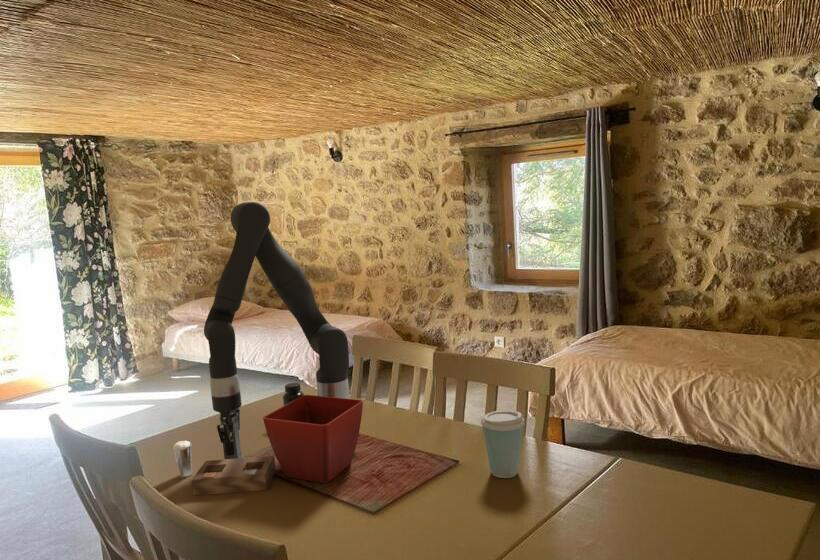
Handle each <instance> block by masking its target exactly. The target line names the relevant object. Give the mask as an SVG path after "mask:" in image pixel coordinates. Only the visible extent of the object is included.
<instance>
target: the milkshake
mask: <svg viewBox="0 0 820 560" xmlns="http://www.w3.org/2000/svg"><path fill="white" fill-rule="evenodd" d="M192 441H193V438H191V440H190V441H188V440H180V441H177V442H176V443H175V444H174V445H173V447H172V448H173V449H172V450H173V453H174V457H175V461H176V466H177V467H176V468H177V472H178V476H179V477H180V478H187V477H189V476H192V474H193V456H192V443H193V442H192Z"/></svg>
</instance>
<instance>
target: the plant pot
mask: <svg viewBox="0 0 820 560" xmlns="http://www.w3.org/2000/svg"><path fill="white" fill-rule="evenodd" d="M363 405H364V401H363V400H361V399H353V398H350V399H345V398H335V397H324V396H318V395H314V394H313V395H311V394H304V396H301V397H299V398H298V399H296V400H294V401H292V402H290V403H288V404H286V405H285V406H284V405H283V406H281V407H279V408H277V409H276V410H274V411H271V412H270V413H268V414H266V415H264V416H263V417H262V419H263V423H264V427H265V431H266V434H267V437H268V439H269V443H270V445H271V448H272V451H273V453H274V457H275V458H276V460H277V461H278V464H279V465H280V468H281V469H282V471H283V473H284V475H285V476H286V477H287V478H292V479H297V480H304V481H308V482H315V483H321V484H327V483H329V482H331V480H333V479H334V478H335V477H337V475H339V474H340V473H342V471H345V469H347V467H349V466H350V465H351V464H352V462H353V459H354V454H355V451H356V447H357V443H358V441H359V440H358V439H359V435H360V430H361V429H360V428H361V423H362V416H363V407H364V406H363Z"/></svg>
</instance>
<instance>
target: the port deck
mask: <svg viewBox="0 0 820 560" xmlns="http://www.w3.org/2000/svg"><path fill="white" fill-rule="evenodd" d="M276 469H277V468H276V462H275V455H269V456H268V455H267V456H266V455H265V456H254V457H253V456H252V457H242V458H237V459H224V458H223V459H213V460H211V459H210V460H205V461H204V462H203V464H202V465H201V467H200V468H199V469H198V471H197V472H196V473H195V475H193V477H192V479H191V487H192V495H193V496H201V495H215V494H229V493H241V492H252V491H253V492H255V491H257V492H258V491H266V490H268V488H269V485H270V484H271V481H272V479H273V476H274V474H275V472H276Z"/></svg>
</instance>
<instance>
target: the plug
mask: <svg viewBox="0 0 820 560" xmlns="http://www.w3.org/2000/svg"><path fill="white" fill-rule="evenodd" d="M229 430H231V429H229ZM239 431H240V430H239V429H238V422H234V433H233V444H234V455H229V456H227V455H226V452H225V443H222V450H223V460H224V459H237V458H243V456H242V448H241V438H240V432H239ZM226 438H227V437H226Z"/></svg>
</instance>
